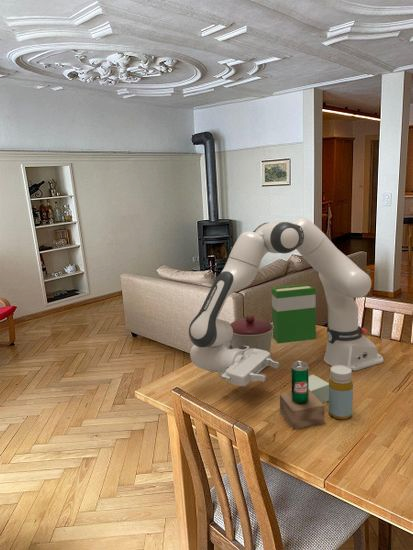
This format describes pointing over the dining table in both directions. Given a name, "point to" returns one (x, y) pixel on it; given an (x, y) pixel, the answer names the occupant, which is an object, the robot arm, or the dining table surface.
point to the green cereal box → (294, 313)
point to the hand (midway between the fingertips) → (271, 371)
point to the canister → (252, 333)
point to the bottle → (340, 392)
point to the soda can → (300, 382)
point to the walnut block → (302, 411)
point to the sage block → (319, 388)
